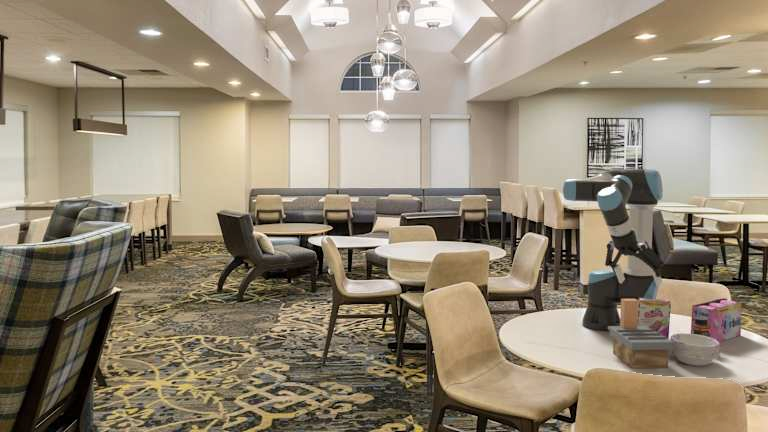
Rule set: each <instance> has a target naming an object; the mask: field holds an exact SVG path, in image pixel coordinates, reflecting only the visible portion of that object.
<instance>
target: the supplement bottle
mask: <svg viewBox="0 0 768 432" xmlns="http://www.w3.org/2000/svg"><path fill="white" fill-rule="evenodd" d="M692 334H697V335H702V336H706V337H710V326H709V325H708V324H707V318H702V317H696V318H695V323H693V324H692Z"/></svg>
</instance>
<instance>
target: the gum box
mask: <svg viewBox="0 0 768 432" xmlns="http://www.w3.org/2000/svg"><path fill="white" fill-rule="evenodd" d="M742 302H743V301H738V302H736V301H734V300H728V298H724V297H723V298H719V299H715V300H711V301H707V302H702V303H698V304H693V305H692V306H691V321H690V322H691V323H690V325H691V327H690V334H692V324H693V323H695V318H696V317H702V318H707V324H708V325H709V326H710V338H713V339H715V340H717V341H718V342H719V343H721V342H724V341H725V340H730V339H733V338H737V337H740V336H741V331H742ZM739 335H740V336H739ZM736 336H737V337H736Z"/></svg>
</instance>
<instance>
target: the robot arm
mask: <svg viewBox="0 0 768 432" xmlns="http://www.w3.org/2000/svg"><path fill="white" fill-rule="evenodd" d="M562 193H563V194H562V195H563V198H564V199H565V200H566V201H572V202H597V205H598V207H599V210H600V212H601V213H602V216H603V219H604V222H605V224H606V228H607V229H608V233H609V234H610V237H611V240H609V241H608V243H607V244H606V257H605V263H604V265H605V266H606V267H610V268H611V269H610V268H608V269H597V270H593V271H591V272H590V273H589V274H588V281H587V306H586V309H585V312H584V314H583V317H582V322H581V323H582V324H581V325H582V326H583V327H585V328H587V329H591V330H597V331H609V330H608V326H620V314H619V310H618V304H621V299H636V300H638V299H639V298H647V299H657V296H658V292H659V287H660V285H661V284H662V283H663V280H662V277H661V276H662V270H661V269H662V267H663V266H664V264H665V263H664V261H663V260H662V259H661V258H660V257H659V256H658V254H656V252H654V250H653V249H652V248H653V247H652V246H653V245H652V243H653V222H654V221H653V220H654V208H655V207H657V206H658V204H659V203H658V201H660V200H661V201H662V199H663V182H662V177H661V174H660V172H659V171H658V170H656V169H647V168H645V169H643V168H641V169H639V168H638V169H637V168H634V169H633V168H630V169H629V168H628V169H627V168H626V169H624V168H616V169H610V170H605V171H601V172H598V173H596V174H595V175H593V176H590V177H585V178H579V179H577V178H573V179H566V180H564V182H563V188H562ZM626 206H627V207H628V208H629V214H628V211H627V207H626ZM614 249H616V250H617V253H616V255H615V256H614V255H613V254H614ZM622 255H624V256H627V267H626V268H625V269H624V270H623V269H622V267H621V263H618V262H619V261H620V259H621V257H622ZM613 256H614V259H613ZM612 260H613V261H612Z"/></svg>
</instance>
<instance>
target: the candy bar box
mask: <svg viewBox="0 0 768 432" xmlns="http://www.w3.org/2000/svg"><path fill="white" fill-rule="evenodd" d="M638 301H639V302H638V326H647V327H649V328H650V329H654V331H656V332H657V333H660V334H661V335H662V336H664V337H667V338H668V339H669V338H670V325H671V324H670V322H671V321H670V319H671V304H672V303H671V300H669V299H657V298H656V299H647V298H639V299H638ZM669 340H670V339H669Z"/></svg>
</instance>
